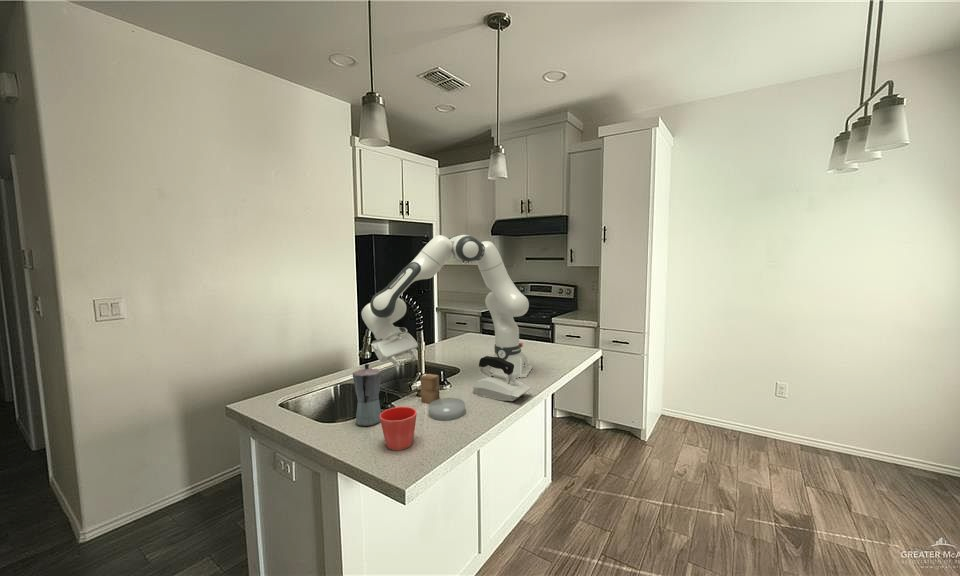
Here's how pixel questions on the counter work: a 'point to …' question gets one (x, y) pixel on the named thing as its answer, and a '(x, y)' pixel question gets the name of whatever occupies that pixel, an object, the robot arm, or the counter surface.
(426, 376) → the walnut block
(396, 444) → the flower pot
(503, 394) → the iron
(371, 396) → the moka pot
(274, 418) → the counter surface
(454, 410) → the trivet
